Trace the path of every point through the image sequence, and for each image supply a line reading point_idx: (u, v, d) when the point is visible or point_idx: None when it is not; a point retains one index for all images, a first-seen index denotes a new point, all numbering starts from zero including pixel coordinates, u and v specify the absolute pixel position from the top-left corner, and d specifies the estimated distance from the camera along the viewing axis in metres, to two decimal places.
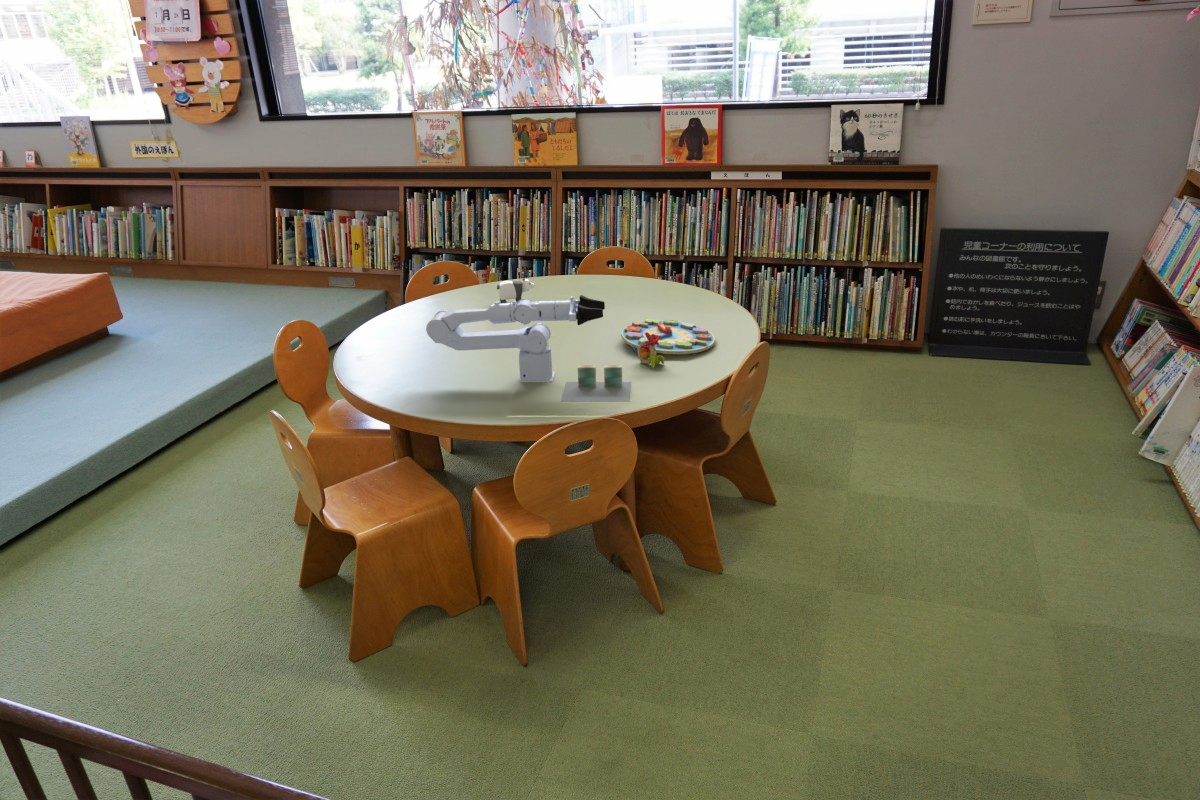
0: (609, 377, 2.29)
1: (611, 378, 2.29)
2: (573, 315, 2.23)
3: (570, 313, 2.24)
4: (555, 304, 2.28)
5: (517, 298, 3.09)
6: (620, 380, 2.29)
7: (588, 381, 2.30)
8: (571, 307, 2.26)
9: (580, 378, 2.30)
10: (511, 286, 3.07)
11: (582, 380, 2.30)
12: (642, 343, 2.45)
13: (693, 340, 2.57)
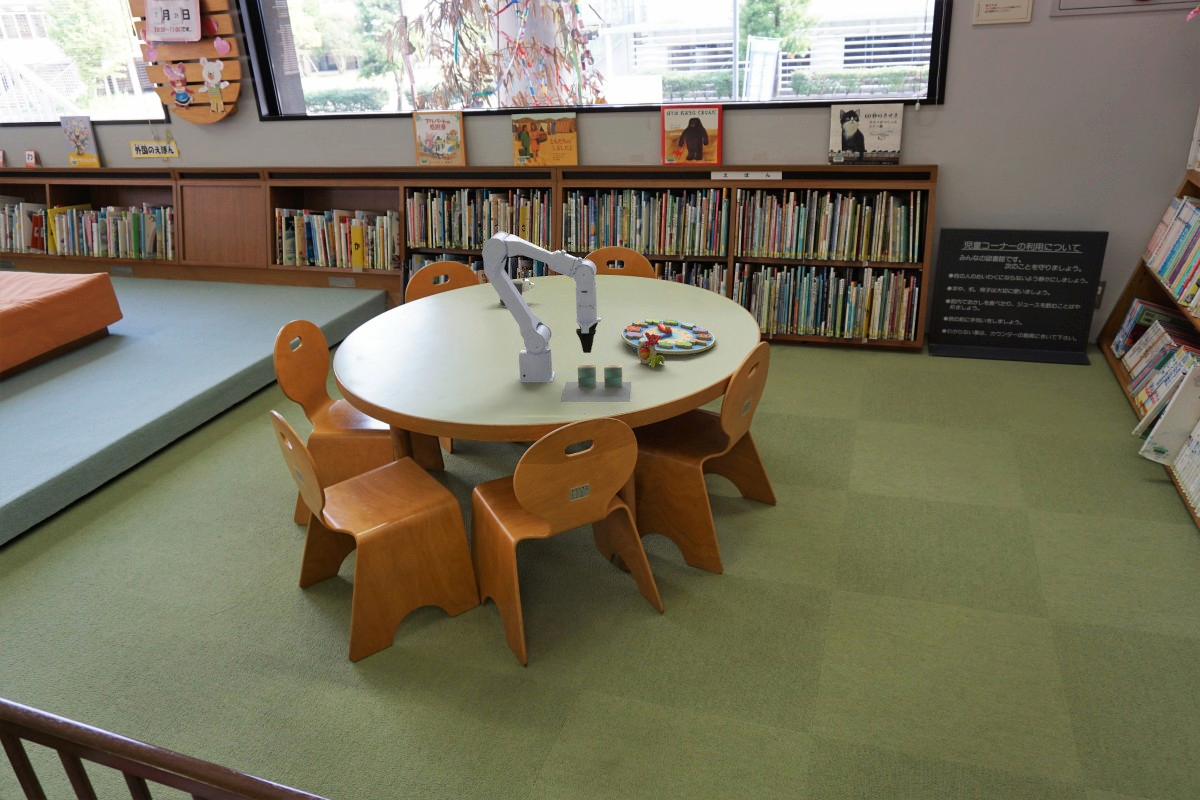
0: (609, 377, 2.29)
1: (611, 378, 2.29)
2: (587, 331, 2.24)
3: (588, 327, 2.24)
4: (594, 305, 2.26)
5: None
6: (620, 380, 2.29)
7: (588, 381, 2.30)
8: (592, 324, 2.26)
9: (580, 378, 2.30)
10: None
11: (582, 380, 2.30)
12: (642, 343, 2.45)
13: (693, 340, 2.57)
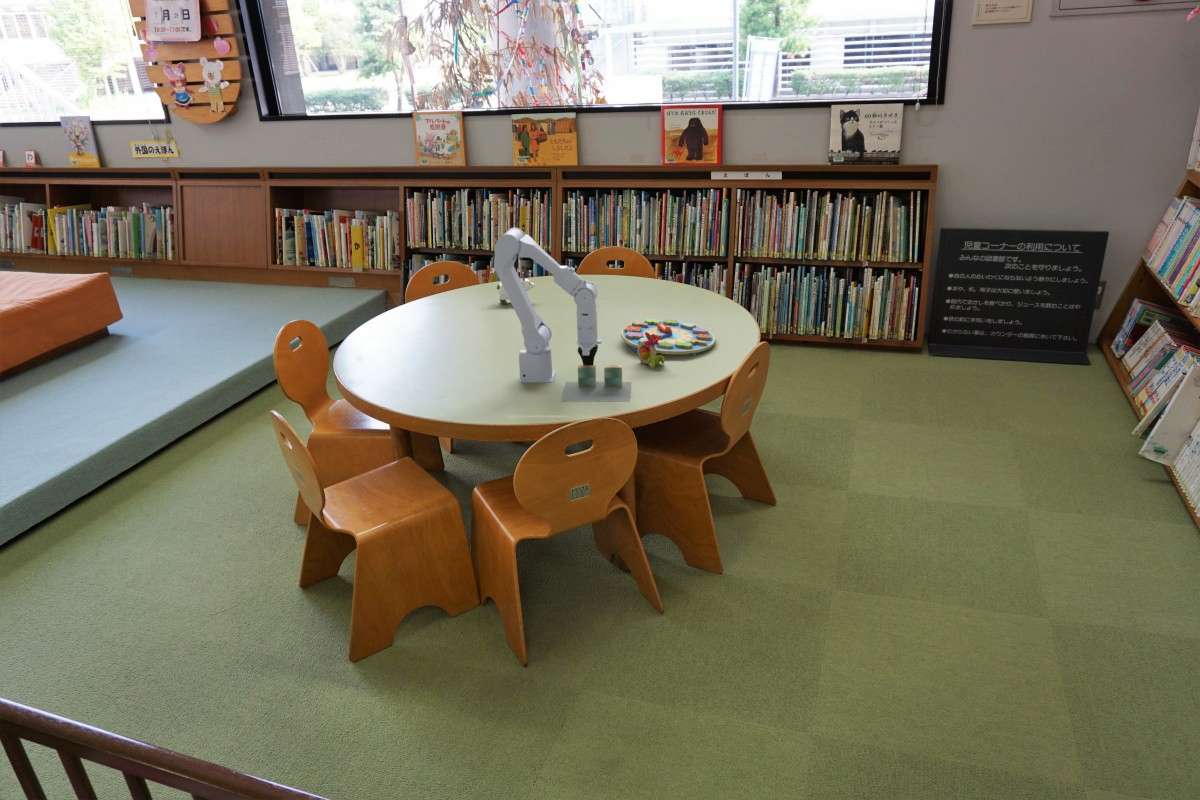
0: (609, 377, 2.29)
1: (611, 378, 2.29)
2: (588, 353, 2.26)
3: (589, 349, 2.26)
4: (594, 328, 2.29)
5: None
6: (620, 380, 2.29)
7: (588, 381, 2.30)
8: (593, 346, 2.29)
9: (580, 378, 2.30)
10: None
11: (582, 380, 2.30)
12: (642, 343, 2.45)
13: (693, 340, 2.57)
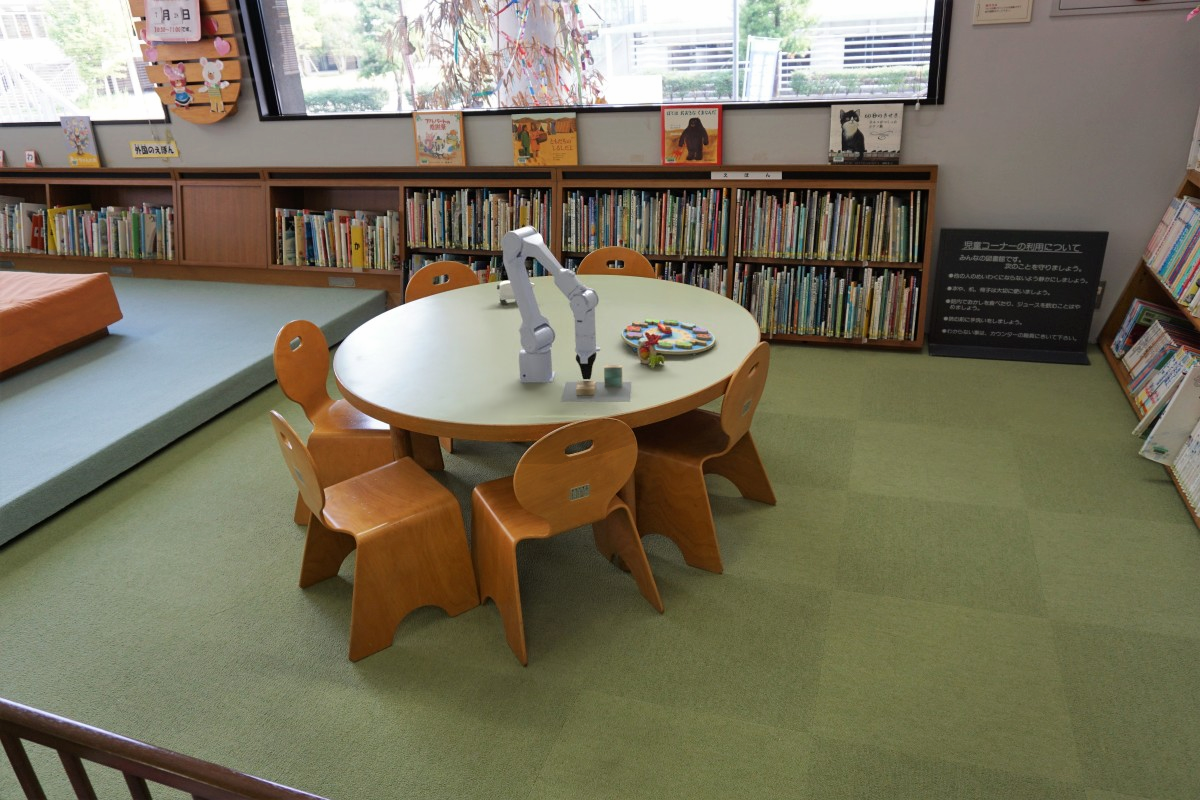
0: (609, 377, 2.29)
1: (611, 378, 2.29)
2: (586, 361, 2.20)
3: (587, 357, 2.20)
4: (593, 335, 2.23)
5: None
6: (620, 380, 2.29)
7: None
8: (591, 354, 2.23)
9: None
10: None
11: None
12: (642, 343, 2.45)
13: (693, 340, 2.57)
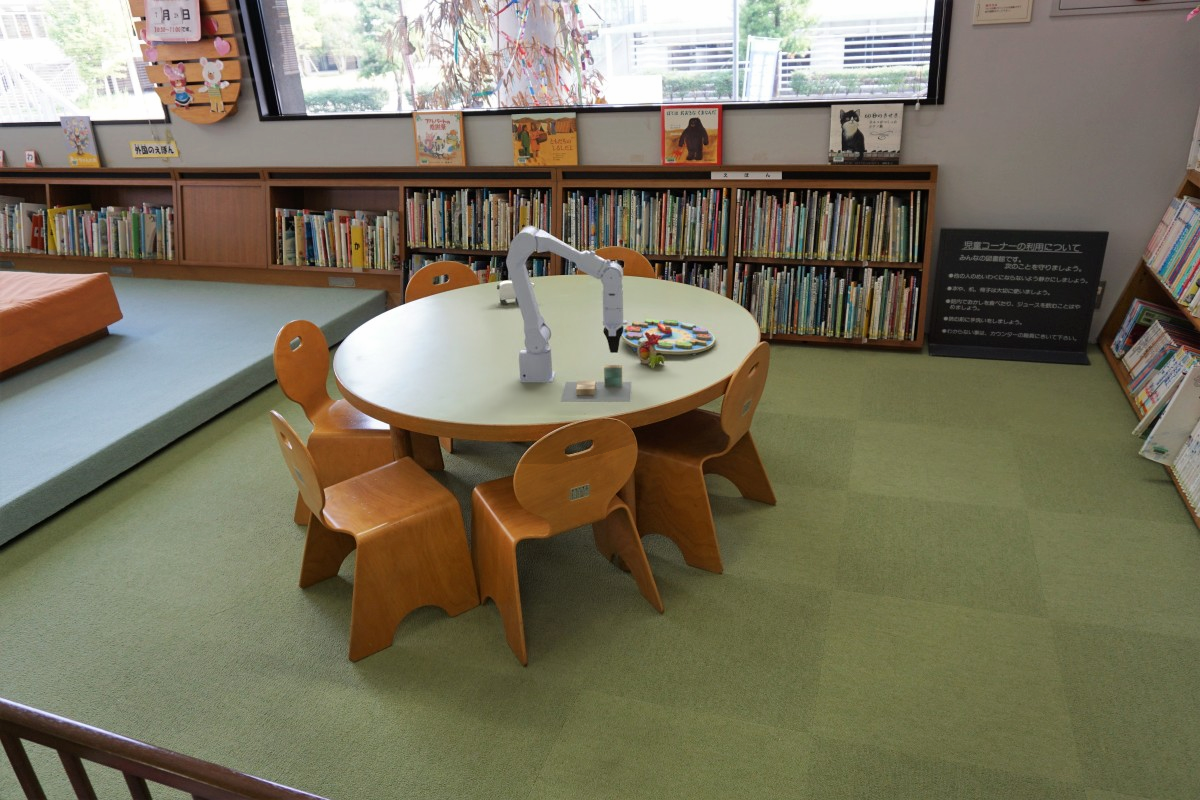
0: (609, 377, 2.29)
1: (611, 378, 2.29)
2: (614, 334, 2.23)
3: (616, 330, 2.24)
4: (620, 308, 2.26)
5: None
6: (620, 380, 2.29)
7: None
8: (619, 327, 2.26)
9: None
10: (511, 286, 3.07)
11: None
12: (642, 343, 2.45)
13: (693, 340, 2.57)
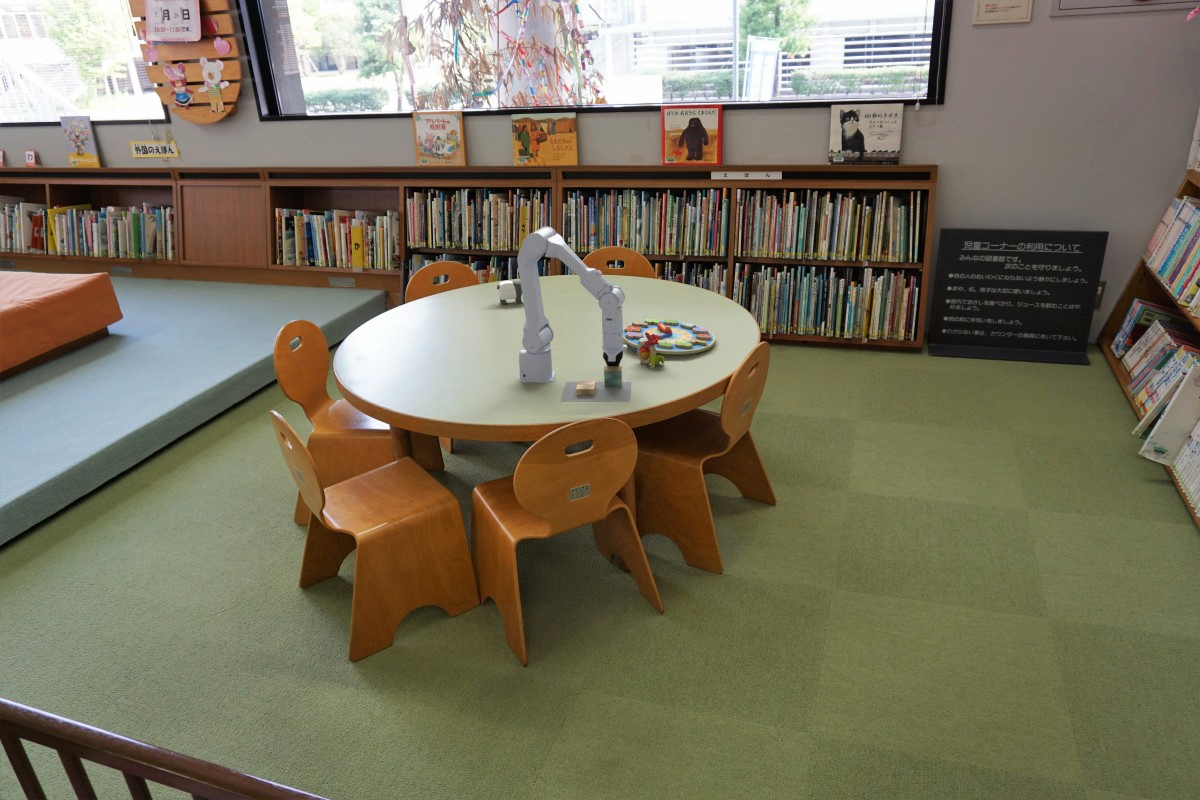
0: (609, 379, 2.28)
1: (611, 379, 2.28)
2: (614, 359, 2.21)
3: (615, 355, 2.21)
4: (620, 333, 2.24)
5: (517, 298, 3.09)
6: (620, 381, 2.29)
7: None
8: (619, 352, 2.24)
9: None
10: (511, 286, 3.07)
11: None
12: (642, 343, 2.45)
13: (693, 340, 2.57)
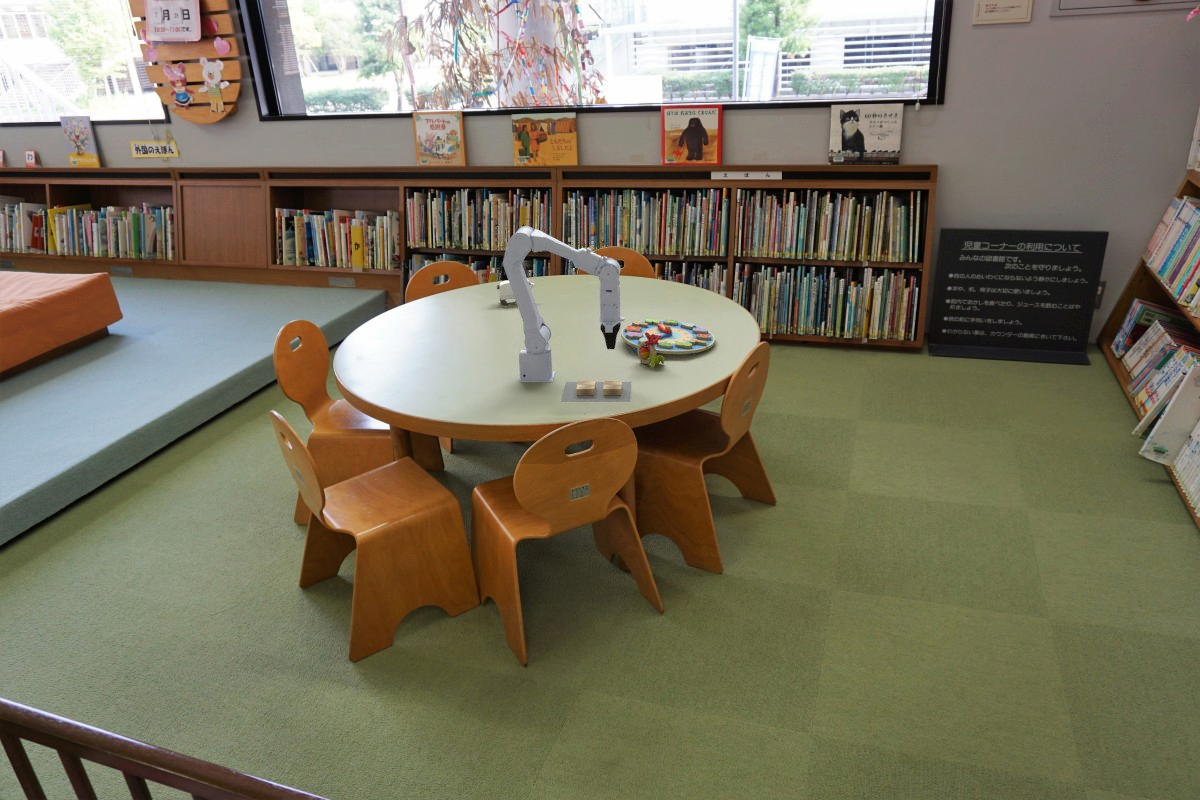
0: None
1: None
2: (611, 330, 2.23)
3: (612, 326, 2.23)
4: (617, 305, 2.26)
5: None
6: None
7: None
8: (616, 323, 2.26)
9: None
10: None
11: None
12: (642, 343, 2.45)
13: (693, 340, 2.57)
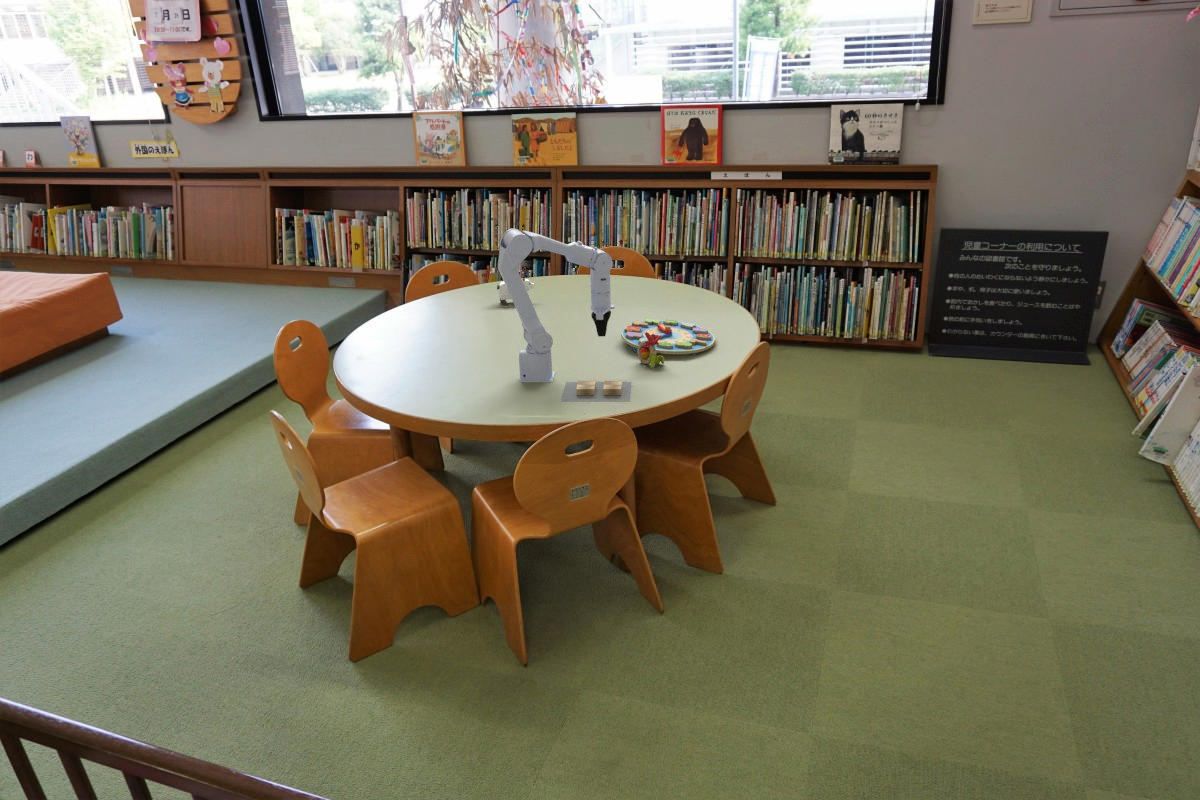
0: None
1: None
2: (601, 317, 2.31)
3: (603, 313, 2.31)
4: (608, 293, 2.34)
5: None
6: None
7: None
8: (606, 311, 2.34)
9: None
10: None
11: None
12: (642, 343, 2.45)
13: (693, 340, 2.57)
